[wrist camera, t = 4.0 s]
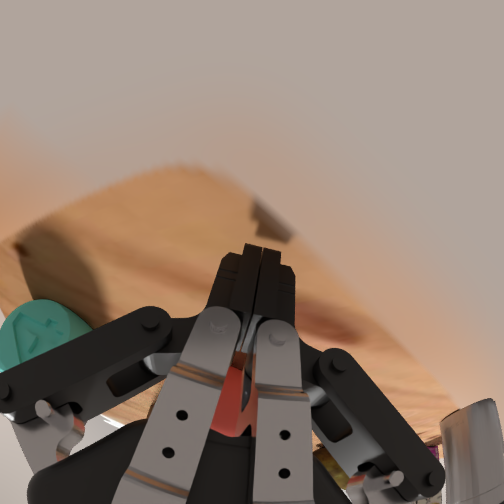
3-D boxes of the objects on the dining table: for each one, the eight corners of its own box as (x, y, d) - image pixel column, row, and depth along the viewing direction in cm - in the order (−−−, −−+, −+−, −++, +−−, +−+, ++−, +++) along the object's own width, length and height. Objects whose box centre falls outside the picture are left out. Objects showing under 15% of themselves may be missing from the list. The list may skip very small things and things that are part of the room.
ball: (273, 359, 18) (265, 440, 13) (255, 391, 22) (246, 455, 17) (187, 339, 18) (162, 417, 13) (186, 376, 21) (169, 438, 17)
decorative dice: (26, 288, 19) (-18, 352, 12) (89, 312, 18) (43, 396, 12) (56, 339, 23) (25, 396, 17) (114, 363, 23) (85, 431, 17)
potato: (348, 437, 29) (348, 488, 23) (385, 445, 33) (386, 486, 27) (301, 447, 33) (297, 493, 27) (345, 455, 38) (344, 493, 31)
